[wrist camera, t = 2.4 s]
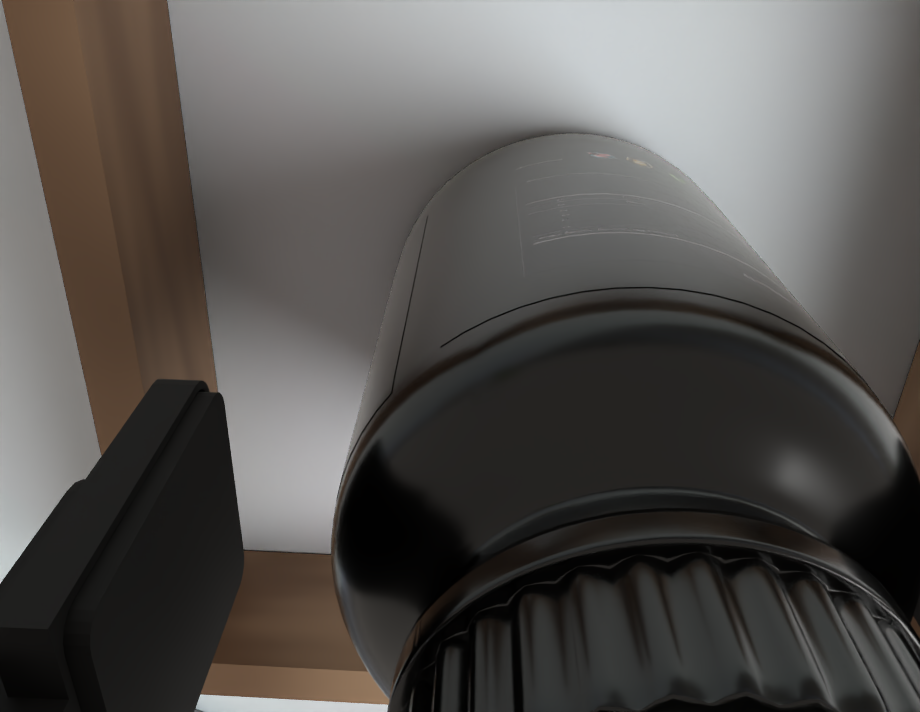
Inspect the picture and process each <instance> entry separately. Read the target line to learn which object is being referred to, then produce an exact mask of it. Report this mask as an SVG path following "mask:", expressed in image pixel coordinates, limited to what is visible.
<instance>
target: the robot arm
mask: <svg viewBox="0 0 920 712" xmlns="http://www.w3.org/2000/svg"><path fill="white" fill-rule="evenodd" d="M243 569H244V550H243V542H242V535H241V527H240V520H239V512H238V504H237V497H236V489H235V481H234V474H233V466H232V459H231V451H230V443H229V436H228V428H227V420H226V413H225V405H224V400H223V397H222V395H221V394H220V393H218V392H210V391H209V388H208V385H207V383H206V382H204V381H203V380H179V379H157V380H156V381H155V382H154V383H153V384H152V385H151V387H150V388H149V390H148V391H147V393H146V394H145V395H144V397H143V398H142V400H141V401H140V403H139V404H138V405H137V407H136V408H135V410H134V411H133V412H132V414H131V415H130V417H129V418H128V420H127V421H126V422H125V424H124V425H123V427H122V428H121V430H120V431H119V432H118V434H117V435H116V437H115V438H114V440H113V441H112V442H111V444H110V445H109V447H108V448H107V450H106V451H105V452H104V454H103V455H102V457H101V458H100V459H99V461H98V462H97V464H96V465H95V467H94V468H93V469H92V471H91V472H90V474H89V475H88V477H87V478H86V479H83V480H80V481H78V482H75V483H74V484H73V485H72V486H71V487H70V489H69V490H68V491H67V492H66V493H65V495H64V496H63V497H62V499H61V500H60V502H59V503H58V504H57V506H56V507H55V509H54V510H53V511H52V513H51V514H50V516H49V517H48V518H47V520H46V521H45V522H44V524H43V525H42V527H41V528H40V529H39V531H38V532H37V534H36V535H35V536H34V538H33V539H32V541H31V542H30V543H29V545H28V546H27V547H26V549H25V550H24V552H23V553H22V554H21V556H20V557H19V559H18V560H17V561H16V563H15V564H14V566H13V567H12V568H11V570H10V571H9V572H8V574H7V575H6V577H5V578H4V579H3V581H2V582H1V584H0V712H194V710H195V708H196V705H197V702H198V699H199V697H200V694H201V691H202V688H203V686H204V683H205V680H206V677H207V675H208V672H209V669H210V666H211V664H212V661H213V658H214V655H215V653H216V650H217V647H218V644H219V642H220V639H221V636H222V633H223V631H224V628H225V625H226V622H227V620H228V617H229V614H230V611H231V609H232V606H233V603H234V600H235V598H236V595H237V592H238V589H239V587H240V584H241V580H242V576H243ZM913 617H914V618H915V620H916V622H917V623H918V625H919V627H920V596H919V599H918V602H917V606H916V609H915V612H914V615H913Z"/></svg>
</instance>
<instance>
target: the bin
mask: <svg viewBox="0 0 920 712" xmlns="http://www.w3.org/2000/svg"><path fill="white" fill-rule="evenodd" d="M2 4H3V8H4V13H5V17H6V22H7V26H8V31H9V35H10V40H11V45H12V49H13V54H14V58H15V63H16V67H17V72H18V77H19V81H20V86H21V90H22V95H23V99H24V104H25V109H26V113H27V118H28V122H29V127H30V131H31V136H32V140H33V145H34V150H35V154H36V159H37V163H38V168H39V172H40V177H41V182H42V186H43V191H44V195H45V200H46V204H47V209H48V214H49V218H50V223H51V227H52V232H53V236H54V241H55V245H56V250H57V255H58V259H59V264H60V268H61V273H62V277H63V282H64V287H65V291H66V296H67V300H68V305H69V309H70V314H71V319H72V323H73V328H74V332H75V337H76V341H77V346H78V350H79V355H80V360H81V364H82V369H83V373H84V378H85V382H86V387H87V392H88V396H89V401H90V405H91V410H92V414H93V419H94V424H95V428H96V433H97V437H98V442H99V446H100V451H101V455H103V454H104V452H105V451H106V450H107V448H108V447H109V445H110V444H111V442H112V441H113V440H114V438H115V437H116V435H117V434H118V432H119V431H120V430H121V428H122V427H123V425H124V424H125V422H126V421H127V420H128V418H129V417H130V415H131V414H132V412H133V411H134V410H135V408H136V407H137V405H138V404H139V403H140V401H141V400H142V398H143V397H144V395H145V394H146V393H147V391H148V390H149V388H150V387H151V385H152V384H153V383H154V382H155V381H156V380H157V379H179V380H203V381H204V382H206V383H207V385H208V388H209V391H210V392H218V389H217V381H216V373H215V366H214V358H213V350H212V343H211V335H210V327H209V319H208V312H207V304H206V296H205V289H204V281H203V273H202V266H201V258H200V250H199V243H198V235H197V227H196V219H195V212H194V204H193V196H192V189H191V181H190V173H189V166H188V158H187V150H186V143H185V135H184V127H183V119H182V112H181V104H180V96H179V89H178V81H177V73H176V66H175V58H174V50H173V43H172V35H171V27H170V19H169V12H168V4H167V0H2ZM893 421H894V422H895V424H896V426H897V428H898V429H899V431H900V433H901V435H902V437H903V438H904V440H905V442H906V444H907V446H908V448H909V451H910V454H911V456H912V459H913V461H914V464H915V466H916V469H917V472H918V475H919V479H920V341H919V344H918V347H917V350H916V353H915V356H914V359H913V362H912V365H911V368H910V371H909V374H908V377H907V380H906V383H905V386H904V389H903V392H902V394H901V397H900V400H899V403H898V406H897V409H896V412H895V415H894V418H893ZM910 624H911V625H912V627H913V629H914V630H915V632H916V633H917V635H918V637H919V638H920V627H919V625H918V623H917V622H916V620H915V618H914V617H913V618H912V621H911V623H910ZM201 694H204V695H223V696H241V697H259V698H278V699H296V700H314V701H333V702H351V703H369V704H387V705H388V704H389V699H388V698H387V697H386V696H385V694H384V693H383V692H382V691H381V689H380V688H379V686H378V685H377V684H376V682H375V681H374V679H373V678H372V677H371V675H370V674H369V672H368V671H367V669H366V667H365V666H364V664H363V662H362V660H361V658H360V657H359V655H358V653H357V651H356V649H355V648H354V645H353V643H352V641H351V639H350V636H349V634H348V631H347V629H346V626H345V624H344V621H343V619H342V616H341V612H340V609H339V605H338V601H337V598H336V594H335V588H334V581H333V574H332V565H331V555H321V554H301V553H281V552H262V551H244V569H243V576H242V580H241V584H240V587H239V589H238V592H237V595H236V598H235V600H234V603H233V606H232V609H231V611H230V614H229V617H228V620H227V622H226V625H225V628H224V631H223V633H222V636H221V639H220V642H219V644H218V647H217V650H216V653H215V655H214V658H213V661H212V664H211V666H210V669H209V672H208V675H207V677H206V680H205V683H204V686H203V688H202V691H201Z"/></svg>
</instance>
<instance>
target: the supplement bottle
mask: <svg viewBox="0 0 920 712" xmlns="http://www.w3.org/2000/svg"><path fill="white" fill-rule="evenodd" d="M331 565H332V574H333V581H334V588H335V594H336V598H337V601H338V605H339V609H340V612H341V616H342V619H343V621H344V624H345V626H346V629H347V631H348V634H349V636H350V639H351V641H352V643H353V645H354V648H355V649H356V651H357V653H358V655H359V657H360V658H361V660H362V662H363V664H364V666H365V667H366V669H367V671H368V672H369V674H370V675H371V677H372V678H373V679H374V681H375V682H376V684H377V685H378V686H379V688H380V689H381V691H382V692H383V693H384V694H385V696H386V697H387V698H388V699H389V704H388V711H387V712H920V638H919V637H918V635H917V633H916V632H915V630H914V629H913V627H912V625H911V624H910V623H911V621H912V618H913V615H914V612H915V609H916V606H917V602H918V599H919V596H920V479H919V475H918V472H917V469H916V466H915V464H914V461H913V459H912V456H911V454H910V451H909V448H908V446H907V444H906V442H905V440H904V438H903V437H902V435H901V433H900V431H899V429H898V428H897V426H896V424H895V422H894V421H893V419H892V418H891V416H890V415H889V413H888V412H887V410H886V409H885V408H884V406H883V405H882V404H881V402H880V401H879V399H878V398H877V396H876V395H875V394H874V392H873V391H872V390H871V388H870V387H869V386H868V384H867V383H866V382H865V380H864V379H863V378H862V377H861V375H860V374H859V373H858V372H857V370H856V369H855V368H854V367H853V366H852V365H851V363H850V362H849V361H848V360H847V359H846V357H845V356H844V355H843V354H842V353H841V352H840V350H839V349H838V348H837V347H836V346H835V345H834V343H833V342H832V341H831V340H830V339H829V337H828V336H827V335H826V334H825V333H824V332H823V330H822V329H821V328H820V327H819V326H818V325H817V323H816V322H815V321H814V320H813V319H812V318H811V316H810V315H809V314H808V313H807V312H806V311H805V309H804V308H803V307H802V306H801V305H800V303H799V302H798V301H797V300H796V299H795V298H794V296H793V295H792V294H791V293H790V292H789V291H788V289H787V288H786V287H785V286H784V285H783V284H782V282H781V281H780V280H779V279H778V278H777V276H776V275H775V274H774V273H773V272H772V271H771V269H770V268H769V267H768V266H767V265H766V264H765V262H764V261H763V260H762V259H761V258H760V257H759V255H758V254H757V253H756V252H755V251H754V250H753V248H752V247H751V246H750V245H749V244H748V242H747V241H746V240H745V239H744V238H743V237H742V235H741V234H740V233H739V232H738V231H737V230H736V228H735V227H734V226H733V225H732V224H731V223H730V221H729V220H728V219H727V218H726V217H725V215H724V214H723V213H722V212H721V211H720V210H719V208H718V207H717V206H716V205H715V204H714V203H713V202H712V201H711V200H710V199H709V198H708V197H707V195H706V194H705V193H704V192H703V191H702V190H701V189H700V188H699V187H698V186H697V185H696V184H695V183H694V182H693V181H692V180H691V179H690V178H689V177H688V176H686V175H685V174H684V173H683V172H682V171H680V170H679V169H678V168H677V167H675V166H674V165H672V164H671V163H669V162H668V161H666V160H665V159H663V158H662V157H660V156H658V155H656V154H654V153H652V152H650V151H649V150H647V149H644V148H642V147H639V146H637V145H634V144H632V143H629V142H626V141H622V140H619V139H615V138H611V137H605V136H600V135H593V134H579V133H570V134H553V135H545V136H539V137H534V138H530V139H525V140H521V141H518V142H515V143H512V144H509V145H507V146H504V147H502V148H499V149H497V150H495V151H493V152H490V153H488V154H487V155H485V156H483V157H481V158H480V159H478V160H476V161H474V162H473V163H471V164H470V165H468V166H467V167H466V168H464V169H463V170H461V171H460V172H458V173H457V174H456V175H455V176H454V177H453V178H452V179H450V180H449V181H448V182H447V183H446V184H445V185H444V186H443V187H442V188H441V189H440V190H439V191H438V192H437V193H436V194H435V195H434V197H433V198H432V199H431V200H430V202H429V203H428V204H427V206H426V207H425V208H424V210H423V211H422V213H421V214H420V216H419V218H418V219H417V221H416V222H415V224H414V226H413V228H412V230H411V232H410V234H409V236H408V238H407V240H406V242H405V245H404V248H403V251H402V254H401V256H400V259H399V263H398V266H397V269H396V272H395V275H394V279H393V283H392V287H391V290H390V294H389V298H388V302H387V306H386V310H385V313H384V317H383V321H382V325H381V329H380V332H379V336H378V340H377V344H376V348H375V351H374V355H373V359H372V363H371V367H370V371H369V374H368V378H367V382H366V386H365V390H364V393H363V397H362V401H361V405H360V409H359V412H358V416H357V420H356V424H355V428H354V432H353V435H352V439H351V443H350V447H349V451H348V455H347V458H346V462H345V466H344V470H343V475H342V479H341V483H340V487H339V491H338V495H337V501H336V507H335V513H334V520H333V529H332V538H331Z"/></svg>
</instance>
